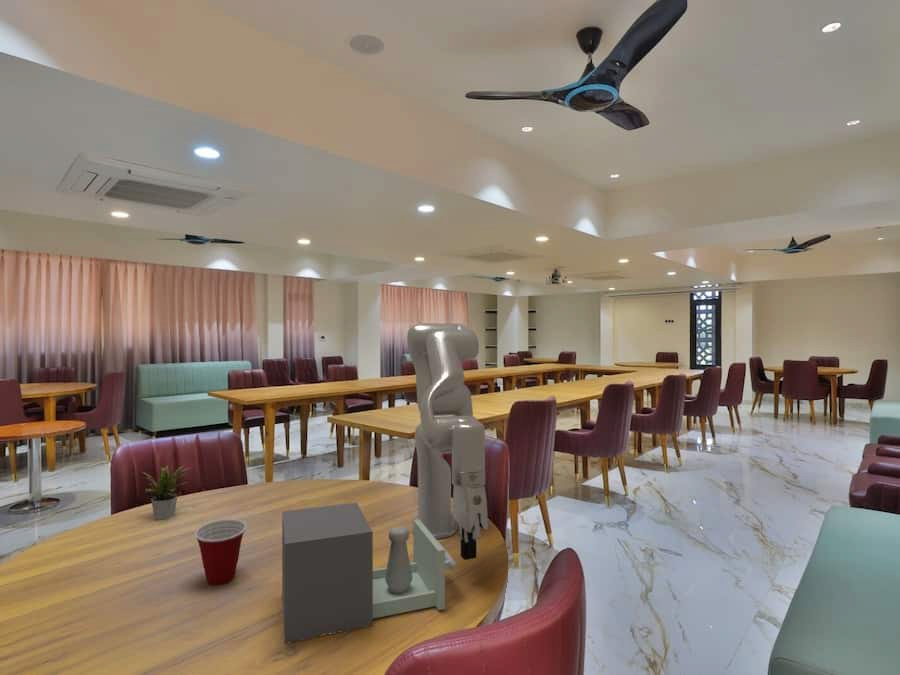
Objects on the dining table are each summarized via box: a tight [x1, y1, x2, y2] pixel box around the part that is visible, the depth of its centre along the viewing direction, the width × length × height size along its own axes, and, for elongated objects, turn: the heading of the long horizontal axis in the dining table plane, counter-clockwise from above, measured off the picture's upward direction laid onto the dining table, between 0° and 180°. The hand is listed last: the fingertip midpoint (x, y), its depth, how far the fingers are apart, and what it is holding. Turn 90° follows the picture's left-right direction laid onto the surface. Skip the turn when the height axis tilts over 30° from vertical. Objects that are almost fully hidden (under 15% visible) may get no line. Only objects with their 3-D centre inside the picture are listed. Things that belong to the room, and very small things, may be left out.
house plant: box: [141, 464, 191, 521], centre depth 150 cm, size 14×14×16 cm
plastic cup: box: [193, 518, 247, 586], centre depth 111 cm, size 11×11×12 cm
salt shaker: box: [385, 525, 412, 594], centre depth 104 cm, size 6×6×13 cm
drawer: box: [373, 518, 458, 620], centre depth 105 cm, size 20×18×12 cm
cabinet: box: [281, 502, 374, 644], centre depth 99 cm, size 16×18×18 cm
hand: (468, 557), depth 110 cm, fingers closed
